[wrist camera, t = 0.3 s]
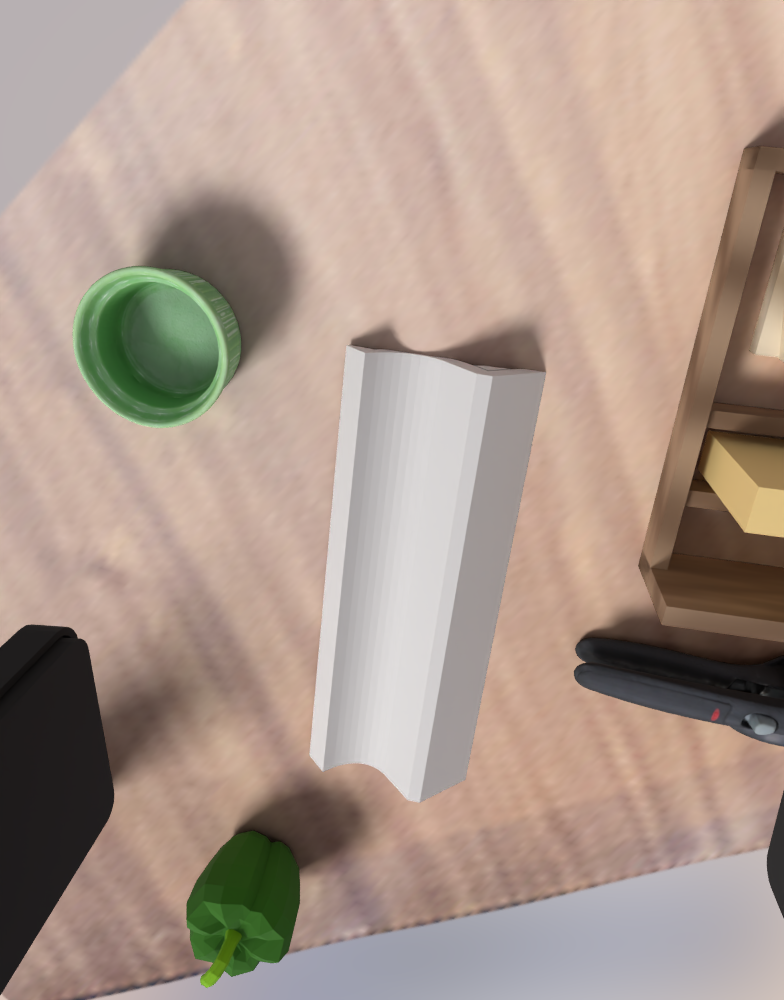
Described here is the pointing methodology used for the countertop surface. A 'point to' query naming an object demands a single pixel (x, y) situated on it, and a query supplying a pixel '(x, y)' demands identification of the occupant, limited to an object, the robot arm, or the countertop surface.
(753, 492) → the panel
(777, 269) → the offcut lower
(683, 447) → the rack
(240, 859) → the bell pepper
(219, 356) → the ramekin
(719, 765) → the countertop surface
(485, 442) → the crown molding
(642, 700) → the can opener
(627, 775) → the countertop surface
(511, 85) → the countertop surface
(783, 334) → the offcut upper
